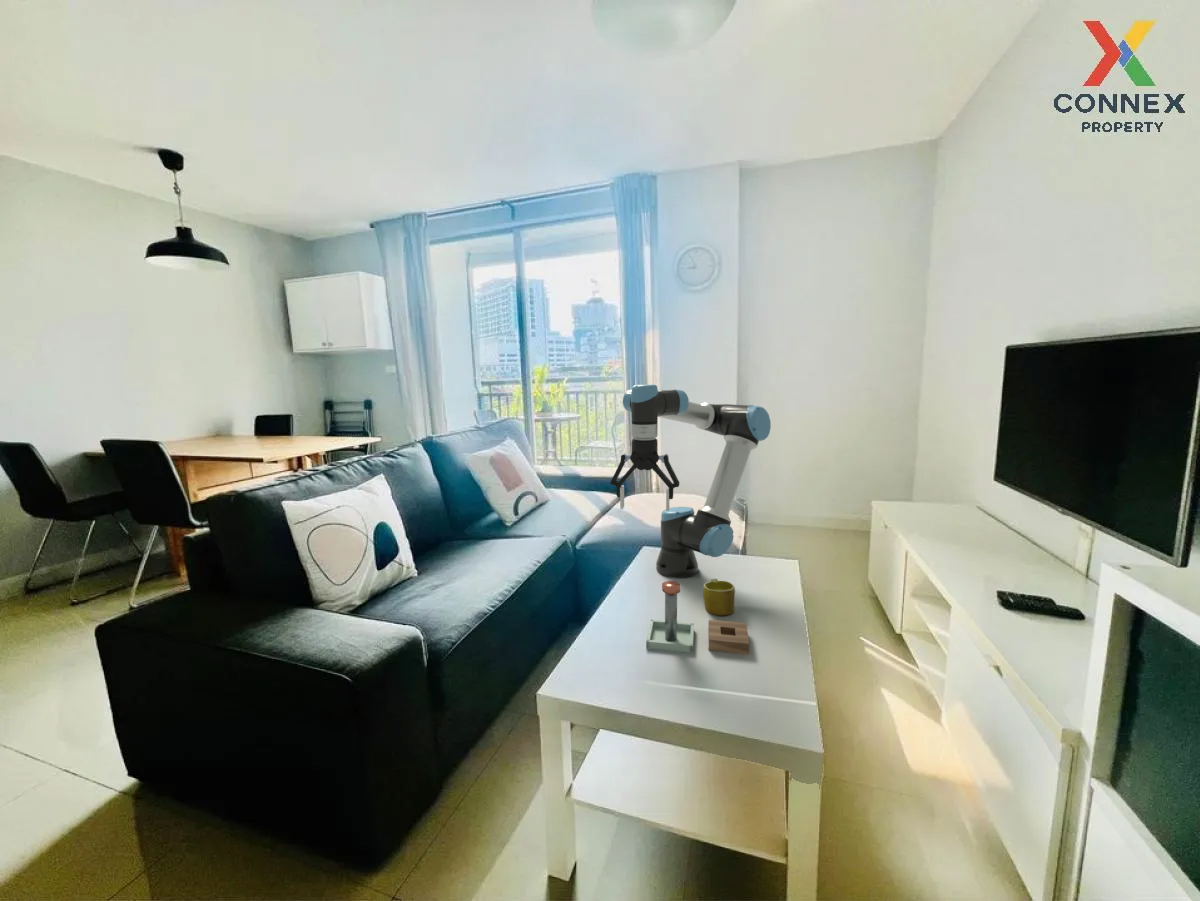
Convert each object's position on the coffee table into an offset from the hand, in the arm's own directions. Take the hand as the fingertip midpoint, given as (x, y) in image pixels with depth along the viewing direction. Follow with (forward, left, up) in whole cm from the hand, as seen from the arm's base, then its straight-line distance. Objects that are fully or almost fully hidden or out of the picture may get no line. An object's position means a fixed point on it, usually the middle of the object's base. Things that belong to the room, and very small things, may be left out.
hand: (644, 508), depth 139 cm
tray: (+17, +9, -32) cm, 37 cm away
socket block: (+15, +24, -32) cm, 42 cm away
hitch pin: (+17, +9, -31) cm, 36 cm away
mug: (-4, +22, -32) cm, 39 cm away
